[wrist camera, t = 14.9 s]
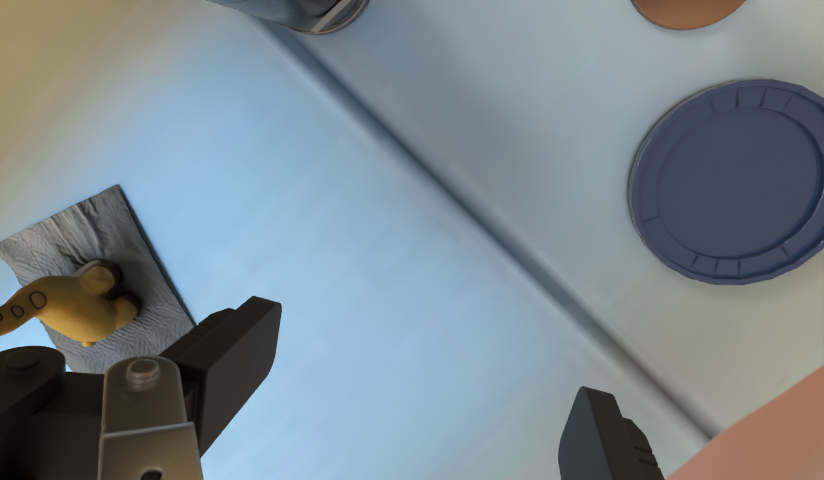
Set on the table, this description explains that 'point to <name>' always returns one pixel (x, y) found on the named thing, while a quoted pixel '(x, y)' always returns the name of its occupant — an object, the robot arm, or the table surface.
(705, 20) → the coaster
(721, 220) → the plate
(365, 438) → the table surface
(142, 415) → the robot arm
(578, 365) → the table surface
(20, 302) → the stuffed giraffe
